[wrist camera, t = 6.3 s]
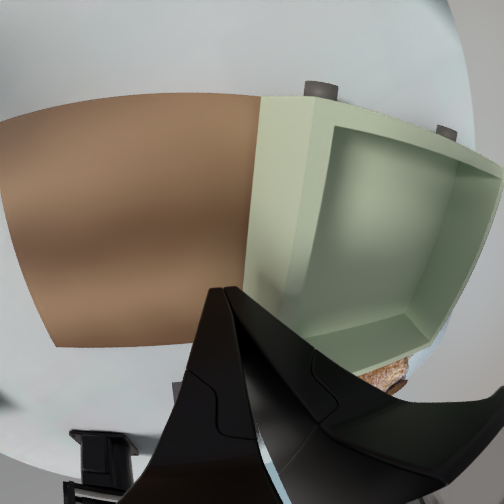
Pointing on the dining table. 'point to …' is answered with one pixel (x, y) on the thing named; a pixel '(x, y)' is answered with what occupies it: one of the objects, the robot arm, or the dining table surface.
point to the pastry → (389, 376)
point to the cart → (362, 226)
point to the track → (129, 211)
